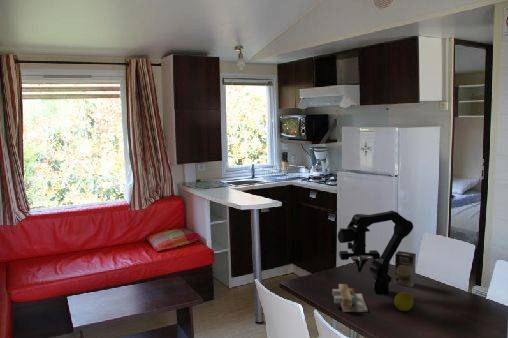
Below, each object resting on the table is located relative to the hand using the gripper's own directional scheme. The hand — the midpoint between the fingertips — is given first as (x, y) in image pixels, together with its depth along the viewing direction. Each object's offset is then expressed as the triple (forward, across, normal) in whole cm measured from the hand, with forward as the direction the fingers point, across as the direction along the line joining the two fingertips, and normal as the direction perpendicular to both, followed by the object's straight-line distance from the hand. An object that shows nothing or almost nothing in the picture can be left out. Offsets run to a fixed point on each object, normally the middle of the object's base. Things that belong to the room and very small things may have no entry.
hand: (359, 272), depth 217 cm
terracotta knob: (+10, +9, +5) cm, 14 cm away
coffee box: (+12, -27, -14) cm, 32 cm away
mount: (+12, +5, +9) cm, 16 cm away
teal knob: (+10, +9, +13) cm, 19 cm away
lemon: (+12, -16, +17) cm, 26 cm away
